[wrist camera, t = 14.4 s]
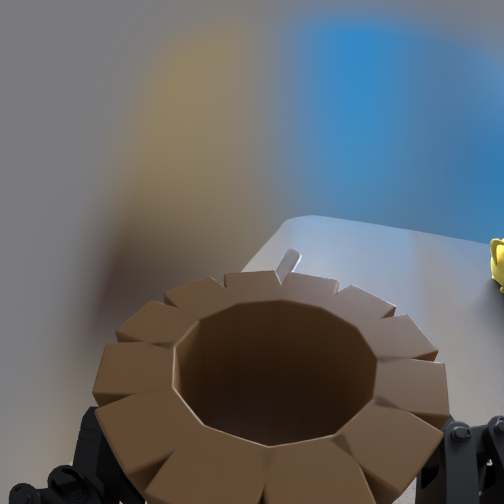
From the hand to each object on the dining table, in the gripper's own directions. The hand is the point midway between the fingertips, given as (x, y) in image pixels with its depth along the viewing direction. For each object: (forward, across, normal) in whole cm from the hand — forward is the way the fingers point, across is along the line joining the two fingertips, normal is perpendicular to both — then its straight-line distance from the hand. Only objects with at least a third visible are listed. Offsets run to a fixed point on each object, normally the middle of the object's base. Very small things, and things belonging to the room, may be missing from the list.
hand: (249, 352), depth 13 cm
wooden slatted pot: (-5, 0, -6) cm, 8 cm away
